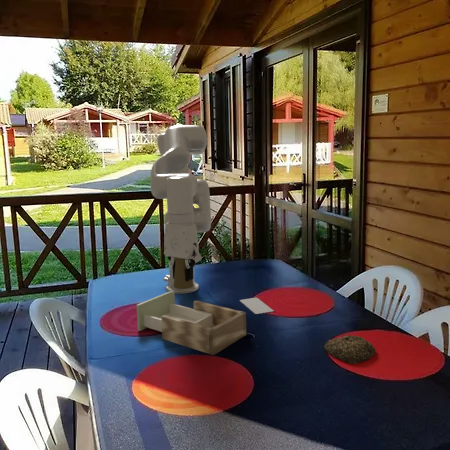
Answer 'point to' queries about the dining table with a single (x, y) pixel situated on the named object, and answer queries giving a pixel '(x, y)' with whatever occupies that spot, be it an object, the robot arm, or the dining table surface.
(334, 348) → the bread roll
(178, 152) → the robot arm
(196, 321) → the drawer
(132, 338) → the dining table surface
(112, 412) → the dining table surface
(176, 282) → the cork
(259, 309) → the smartphone
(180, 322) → the caddy
